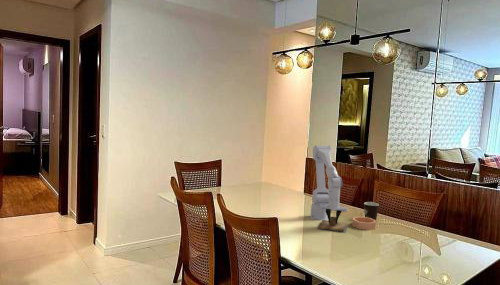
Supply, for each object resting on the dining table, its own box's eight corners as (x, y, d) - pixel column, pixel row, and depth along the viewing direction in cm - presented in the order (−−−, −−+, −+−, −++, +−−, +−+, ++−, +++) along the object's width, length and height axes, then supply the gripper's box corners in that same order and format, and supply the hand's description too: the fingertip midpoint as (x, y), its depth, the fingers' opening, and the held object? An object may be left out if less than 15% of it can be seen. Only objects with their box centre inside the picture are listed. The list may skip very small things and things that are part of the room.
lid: (319, 228, 193) (319, 219, 193) (322, 221, 205) (323, 213, 205) (343, 231, 189) (344, 222, 188) (345, 224, 201) (346, 215, 200)
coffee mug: (379, 222, 209) (380, 206, 209) (363, 221, 211) (364, 205, 210) (376, 217, 221) (377, 201, 220) (361, 216, 222) (362, 200, 222)
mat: (316, 230, 192) (316, 229, 192) (321, 222, 207) (321, 221, 206) (345, 234, 187) (345, 233, 187) (347, 226, 201) (347, 225, 201)
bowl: (351, 228, 197) (352, 221, 197) (353, 222, 209) (353, 215, 208) (375, 231, 193) (375, 224, 193) (375, 225, 205) (375, 218, 204)
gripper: (319, 199, 194) (318, 223, 195) (347, 202, 189) (345, 227, 191) (321, 196, 201) (320, 220, 202) (348, 199, 196) (346, 223, 197)
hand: (332, 223), depth 197 cm, fingers closed on lid, 3 cm apart
